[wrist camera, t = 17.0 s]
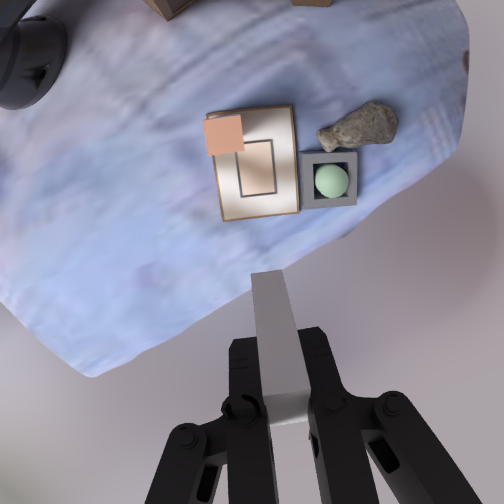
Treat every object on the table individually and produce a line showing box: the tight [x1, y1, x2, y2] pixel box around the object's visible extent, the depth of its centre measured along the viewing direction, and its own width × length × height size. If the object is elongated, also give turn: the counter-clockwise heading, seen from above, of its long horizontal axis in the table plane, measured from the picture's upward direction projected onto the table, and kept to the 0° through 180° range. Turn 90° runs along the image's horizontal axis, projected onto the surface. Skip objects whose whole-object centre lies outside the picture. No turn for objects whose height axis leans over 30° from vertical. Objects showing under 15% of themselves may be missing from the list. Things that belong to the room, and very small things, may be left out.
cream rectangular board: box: [206, 105, 299, 222], centre depth 32 cm, size 14×10×1 cm
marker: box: [203, 114, 245, 156], centre depth 24 cm, size 3×3×12 cm
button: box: [313, 163, 349, 198], centre depth 32 cm, size 4×4×3 cm
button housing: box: [299, 150, 357, 210], centre depth 33 cm, size 7×7×2 cm
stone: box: [316, 101, 399, 152], centre depth 28 cm, size 10×6×8 cm
